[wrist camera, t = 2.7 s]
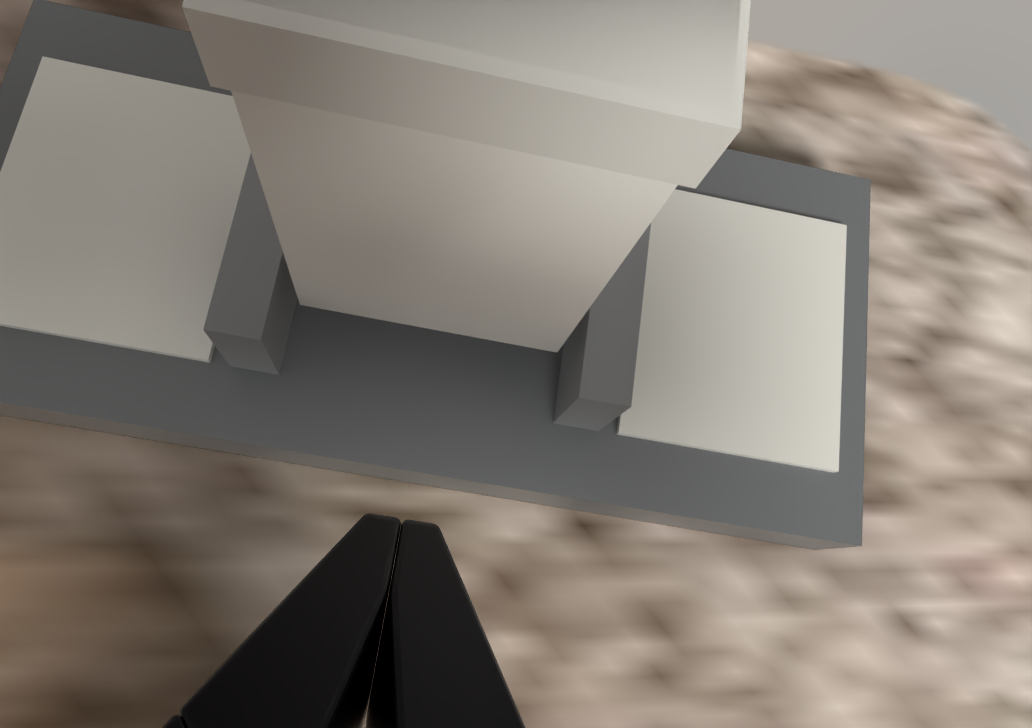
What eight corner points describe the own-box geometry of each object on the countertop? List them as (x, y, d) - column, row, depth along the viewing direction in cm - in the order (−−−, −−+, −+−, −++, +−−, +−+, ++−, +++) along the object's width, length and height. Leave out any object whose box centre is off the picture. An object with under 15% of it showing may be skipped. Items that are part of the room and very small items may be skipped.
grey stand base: (815, 549, 20) (935, 540, 15) (-57, 405, 18) (-203, 347, 13) (829, 214, 22) (934, 125, 18) (68, 54, 20) (-20, -91, 16)
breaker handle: (561, 362, 16) (740, 128, 8) (292, 314, 15) (182, 6, 7) (576, 251, 16) (756, -72, 8) (319, 200, 16) (246, -199, 8)
